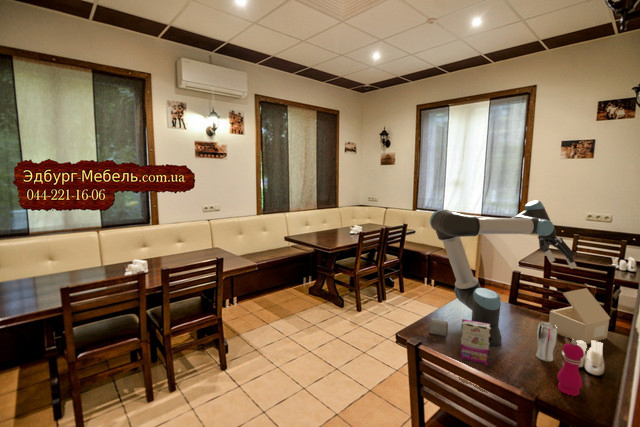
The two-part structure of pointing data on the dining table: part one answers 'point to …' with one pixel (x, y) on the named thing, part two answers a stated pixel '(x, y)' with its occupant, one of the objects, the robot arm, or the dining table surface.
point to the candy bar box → (475, 341)
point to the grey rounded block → (438, 327)
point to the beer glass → (546, 340)
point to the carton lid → (586, 306)
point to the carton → (577, 325)
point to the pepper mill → (571, 369)
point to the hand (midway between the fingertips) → (562, 264)
